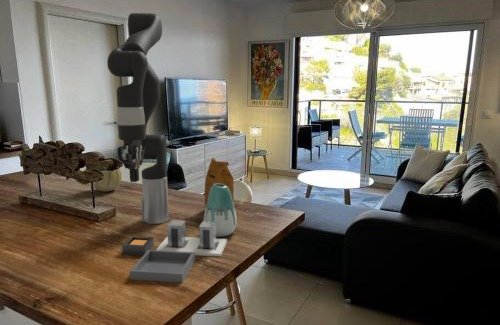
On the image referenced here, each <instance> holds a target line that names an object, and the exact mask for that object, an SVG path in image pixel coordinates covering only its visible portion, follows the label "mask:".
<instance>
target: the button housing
mask: <svg viewBox="0 0 500 325" xmlns="http://www.w3.org/2000/svg"><path fill="white" fill-rule="evenodd" d="M133 240H147V241H146V243H145V244H144V245H131V244H130V243H131V242H132V241H133ZM154 242H155V240H154V237H152V236H151V237H150V236H135V235H132V236H131V237H130V238H128V239H127V240H126V241H125V242H124V243H123V244H122V245H121V246H122V248H121V250H122V255H131V256H133V255H134V256H143V255H144V254H145V253H146V252H147V251H148V250H152V248H153V247H154V244H155V243H154Z"/></svg>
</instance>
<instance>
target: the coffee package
mask: <svg viewBox="0 0 500 325" xmlns="http://www.w3.org/2000/svg"><path fill="white" fill-rule="evenodd" d="M228 166H230V164H229V162H228V161H219V160H218V161H217V160H216V158H214V157H212V158H211V160H210V163H209V167H208V169H207V172H206V175H205V183H204V209H205V208H206V205H207V201H208V196H209V192H210V189H211V187H212V186H213V184H216V183H220V184H224V185H226V186H227V187H228V188H229V190H230V192H231V196H232V201H233V204H234V202H235V200H234V199H235V196H234V191H235V190H234V187H235V186H234V181H235V180H234V177H233V174H232V173H231V171H230V170H229V167H228ZM234 205H235V204H234Z"/></svg>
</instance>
